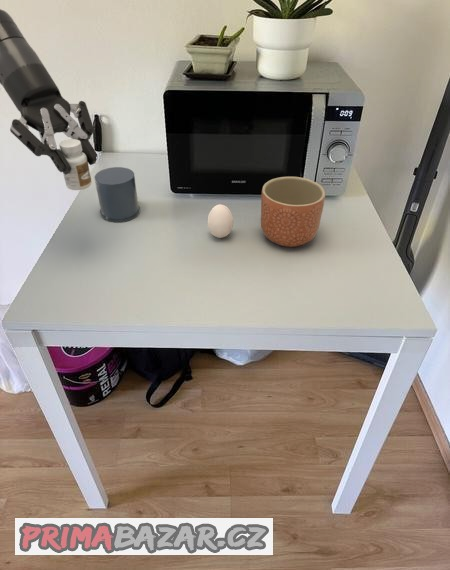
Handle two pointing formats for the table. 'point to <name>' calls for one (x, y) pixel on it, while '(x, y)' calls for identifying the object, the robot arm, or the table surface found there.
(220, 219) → the egg
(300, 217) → the planter
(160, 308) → the table surface
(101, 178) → the cup
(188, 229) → the table surface
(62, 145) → the pill bottle
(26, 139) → the robot arm
